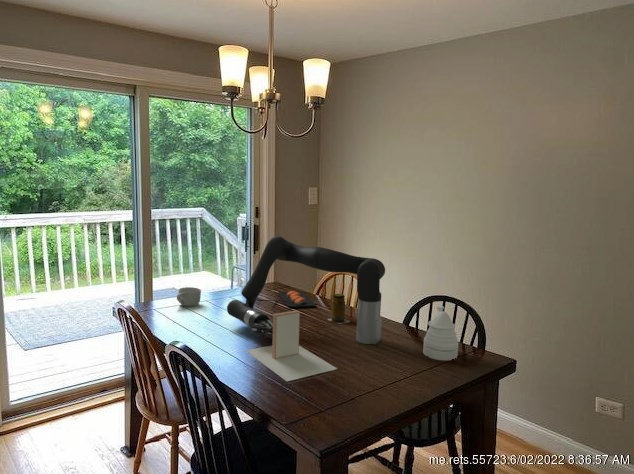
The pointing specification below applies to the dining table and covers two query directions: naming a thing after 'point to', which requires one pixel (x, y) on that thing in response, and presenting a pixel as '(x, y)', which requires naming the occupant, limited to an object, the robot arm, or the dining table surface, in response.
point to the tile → (285, 334)
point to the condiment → (338, 309)
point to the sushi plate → (293, 299)
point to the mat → (292, 363)
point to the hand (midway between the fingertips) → (277, 333)
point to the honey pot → (441, 338)
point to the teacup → (189, 296)
